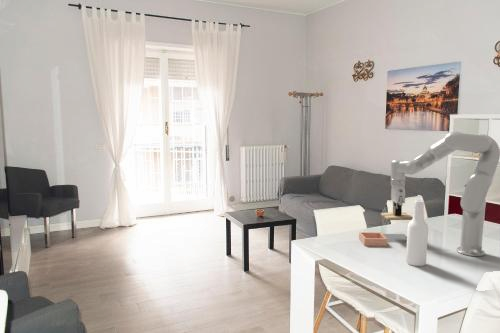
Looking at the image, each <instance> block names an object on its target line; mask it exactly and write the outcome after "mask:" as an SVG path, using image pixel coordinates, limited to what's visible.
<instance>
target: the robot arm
mask: <svg viewBox="0 0 500 333" xmlns="http://www.w3.org/2000/svg"><path fill="white" fill-rule="evenodd" d="M455 151H460V152H461V151H462V152H470V153H478V154H479V157H478V160H477V162H476V167H475V168H474V172H473V173H472V174H471V175H470V176H469V177H468V179H467V181H466V184H465V187H464V189H463V194H462V195H461V196H462V197H461V198H460V203H459V204H460V207H461V209H462V217H461V231H460V244H459V245H460V246H458V247H456V252H458V253H460V254H462V255H466V256H468V257H469V256H470V257H483V256H485V255H486V251H484V250H483V249H482V248H483V247H482V246H483V235H484V223H485V213H486V212H485V211H486V206H487V200H486V197H487V195H488V192H489V189H490V187H491V186H492V184H493V181H494V176H495V174H496V171H497V167H498V166H499V161H500V147H499V144H498V142H497V141H496V140H495V139H494V138H492V137H491V136H490V135H489V134H488V135H487V134H474V133H473V134H470V133H464V132H460V131H451V132H449V133H447V134H446V135H445V136H444V137H443V138H442V139H440V140H438V141H437V142H435V143H434V144H432V145H431V146H429V147H428V149H427V150H426V151H425V152H424V153H422V154H421V155H418V156H417V157H416V158H414V159H411V160H408V161H407V160H403V159H395V160H392V161H391V162H390V186H391V192H390V199H391V201H392V207H393V206H396V208H395V215H396V216H401V214H402V213H403V207H402V206H403V204H405V203H406V189H405V185H406V175H410V176H411V175H416V174H418V173H420V172H422V171H423V170H425V169H427V168H428V167H430V166H432V165H433V164H435V163H437V162H439V161H441V160H442V159H444V158H445V157H448V156H449V155H451V154H452V153H454V152H455Z"/></svg>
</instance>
